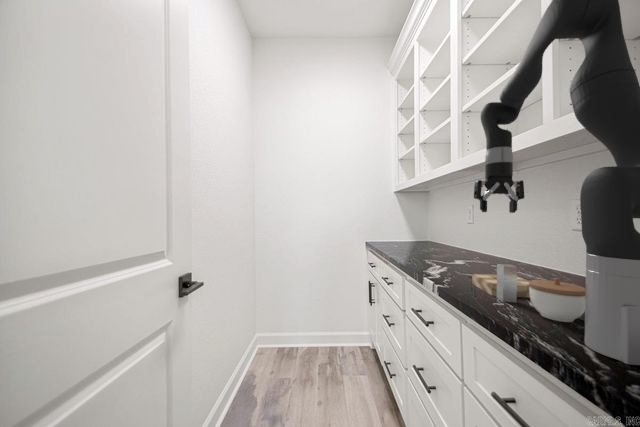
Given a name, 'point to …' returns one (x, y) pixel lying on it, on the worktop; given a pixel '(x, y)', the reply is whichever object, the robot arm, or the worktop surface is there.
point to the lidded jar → (557, 299)
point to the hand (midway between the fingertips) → (498, 212)
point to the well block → (490, 284)
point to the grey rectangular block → (507, 282)
